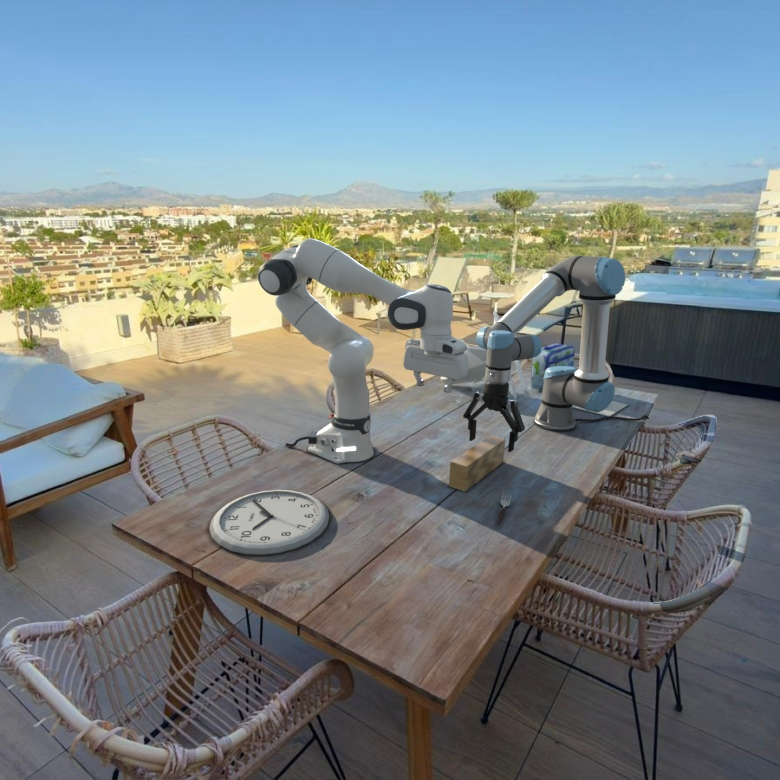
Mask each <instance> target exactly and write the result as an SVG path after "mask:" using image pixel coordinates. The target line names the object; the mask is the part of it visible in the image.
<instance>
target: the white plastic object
mask: <svg viewBox="0 0 780 780" xmlns="http://www.w3.org/2000/svg"><path fill="white" fill-rule="evenodd" d="M492 315H493V319H494V321H495V324H496V323H497V322H498V321H499V320H500V319H501V318H500V315H499V314H498V312H497V311H496V310H495V311H492ZM457 339H458V338H457ZM458 340H459V341H461V342H463V343H465V344H466V345H467V350H466V351H464V353H466V355H467V358H468V375H467V376H466V378H464V379H462V380H455V382H454V384H453V385H458V384H467V383H468V384H469V383H473V384H477V383H480V382H482V381H484V378H485V372H486V360H487V350H485V349H483V348H481V347H479V346H478V345H473V346H469V345H468V343H466V342H465V340H464V339H463V338H460V339H458ZM513 363H514V366H515V369H516V372H517V376H518V380H519V382H520V385H521V389H522V391H523V393H524V395H525V396H526V397H528V396H531V395H530V390H529V388H528V387H529V386H528V384H527V381H526V378H525V375H524V371H523V369H522V368H523V367H522V366H521V362H520V360H516V361H513ZM440 381H442V383H443V384H444V386H446V385H448V383H449V382H448V378H445V377H441V376H440ZM508 383H509V393H510V394H511V395H512V397H513V398H514V400H515V399H516V400H517V392H516V391H517V390H516V388H515V385H514V381H513V378H512V375H511V374H510V381H509V382H508Z"/></svg>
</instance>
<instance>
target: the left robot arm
mask: <svg viewBox="0 0 780 780" xmlns="http://www.w3.org/2000/svg"><path fill="white" fill-rule="evenodd" d="M257 280H258V284H259V285H260V287H261V289H262V290H263V291H264V292H265V293H267V294H268V295H270V296H274V297H275V300H274V302H275V305H276V307H277V309H278V310H279V312H280V313H281V314H282V316H283V317H284V318H285V319H286V320H287V321H288V322H289V324H290V325H292V326H293V327H294V328H295V329H296V330H297V331H298V332H299V333H300V334H301V335H302V336H304V337H305V338H306V339H307V340H308V341H309V342H310V343H311V344H312V345H314V346H316V347H320V348H321V349H323V350H324V351H326V352H329V356H328V359H327V368H328V371H329V373H330V374H331V378H332V383H333V389H334V402H335V403H334V409H335V411H334V412H332V414H330V415H328V420H330V419H331V422H329V423H328V424H326V425H325V426H324V427H322V428H321V429H319V430H318V431H311V433H310V434H309V435H307V436H302V437H299V438H296V440H295V441H294V442H293V443H285V446H286V447H291V448H292V447H296V445H297V444H298V443H299V442H300V441H301V442H302V441H304V440H308V445H309V446H308V449H307V451H308V452H309V453H312V454H314V455H316V456H318V457H320V458H323V459H324V460H328V461H329V462H332V463H333V464H345V463H358V462H363V461H366V460H369V459H371V458H372V457H374V454H375V452H374V448H373V445H372V440H371V439H372V438H371V423H372V422H371V421H372V420H371V413H370V389H369V388H368V382H367V376H366V371H367V368H368V365H370V363H371V362H372V360H373V358H374V351H375V350H374V349H375V348H374V344H373V343H372V341H371V339H369V337H367V336H365V335H362V334H360V333H359V332H358V331H356V330H355V329H353V328H351V326H349V325H347V324H346V323H344V322H342V321H341V320H340V319H338V318H337V317H336V316H335V315H334V314H333V313H332V312H331V311H330V310H328V309H327V308H326V307H325V306H324V305H323V304H322V303H321V302H319V300H318V299H316V298H315V297H314V296H313V295H311V293H310V292H309V290H308V287H307V286H308V285H311V284H312V281H313V280H314V281H316V282H318V283H319V284H321V285H322V286H324V287H325V288H327V289H330V290H332V291H335V292H338V293H340V294H364V295H368V296H370V297H373V298H374V299H377V300H379V301H380V302H382V303H384V304H386V305H387V306H388V308H387V319H388V321H389V323H390V324H391V325H392V326H393V327H394V328H395V329H397V330H400V331H410V330H417V329H419V330H420V338H419V339H415V338H409V339H408V340H406V341H405V344H404V347H405V348H404V350H405V351H404V355H403V361H402V363H403V364H402V365H403V367H404V369H405V370H408V371H411V372H412V371H413V376H414V379H415V381H416V386H417V387H421V388H422V387H423V386H424V385H425V379H422V376H421V374H427V375H431V376H435V377H440V378H441V377H445V378H448V382H449V383H448V385H444V386H443V392H444V393H448V394H449V393H451V392H452V386H453V385H455V384H454V382H455V380H462V379H464V378H466V376H467V375H468V358H467V355H466V353H464V351H466V350H467V345H468V344H467V343H466V342H465V343H466V344H467V345H466V344H465V343H463V342H461V341H459V340H458V338H456V337H454V336H452V335H453V333H452V320H453V316H454V301H453V294H452V292H451V290H450V289H449V288H448V287H446V286H444V285H441V284H433V283H428V284H425V285H424V286H422V287H421V288H419V289H417V290H414V289H413V290H412V289H405V288H404V287H401V286H400V285H398V284H395V283H394V282H392V281H390V280H387V279H386V278H384V277H382V276H380V275H378V274H376V273H375V272H373V271H372V270H370V269H369V268H367V267H365V266H364V265H363V264H362V263H359V262H358V261H356V259H354V258H352V257H351V256H349V255H348V254H347V253H345V252H343V251H342V250H340V249H338V248H336V247H335V246H333V245H331V244H329V243H326V242H323V241H321V240H319V239H316V238H311V237H310V238H306V239H304V240H302V241H301V242H300V243H299V244H297V245H293V246H291V247H289V248H287V249H284V250H282V251H279V252H277V253H276V254H275V255H274V256H272V257H271V258H270V259H268V260H265V262H263V264H262V265H261V266H259V269H258V270H257Z"/></svg>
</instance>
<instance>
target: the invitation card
mask: <svg viewBox="0 0 780 780" xmlns="http://www.w3.org/2000/svg"><path fill="white" fill-rule="evenodd" d="M628 406H629V404H627V403H623V402H618V401H614V400H612V401H611V403H610V404H609V406H608V407H607V408H606V409H605V410H603V411H601V412H593V411H587V410H586V409H583V408H580V407H577V406H574V407H573V409H575V410H581V411H584V412H587V413H593V414H596V415H600V416H603V417H610V416H613V415H614V414H616V413H617V412H619V411H621V410H623V409H624V408H626V407H628Z"/></svg>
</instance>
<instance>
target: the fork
mask: <svg viewBox="0 0 780 780" xmlns="http://www.w3.org/2000/svg"><path fill="white" fill-rule="evenodd" d="M504 493H505V491H503V492H502V496H501V499H500V505H501V506H502V508H501V510H500V511H499V514H498V520H497V521H498V522H497V526H500V524H501V522H502V520H503V518H504V517H505V516H504V515H505V508H506V507H509V506H510V505H511V500H512V494H510V493H509V492H508V493H505V495H504ZM509 494H510V496H509Z"/></svg>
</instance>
